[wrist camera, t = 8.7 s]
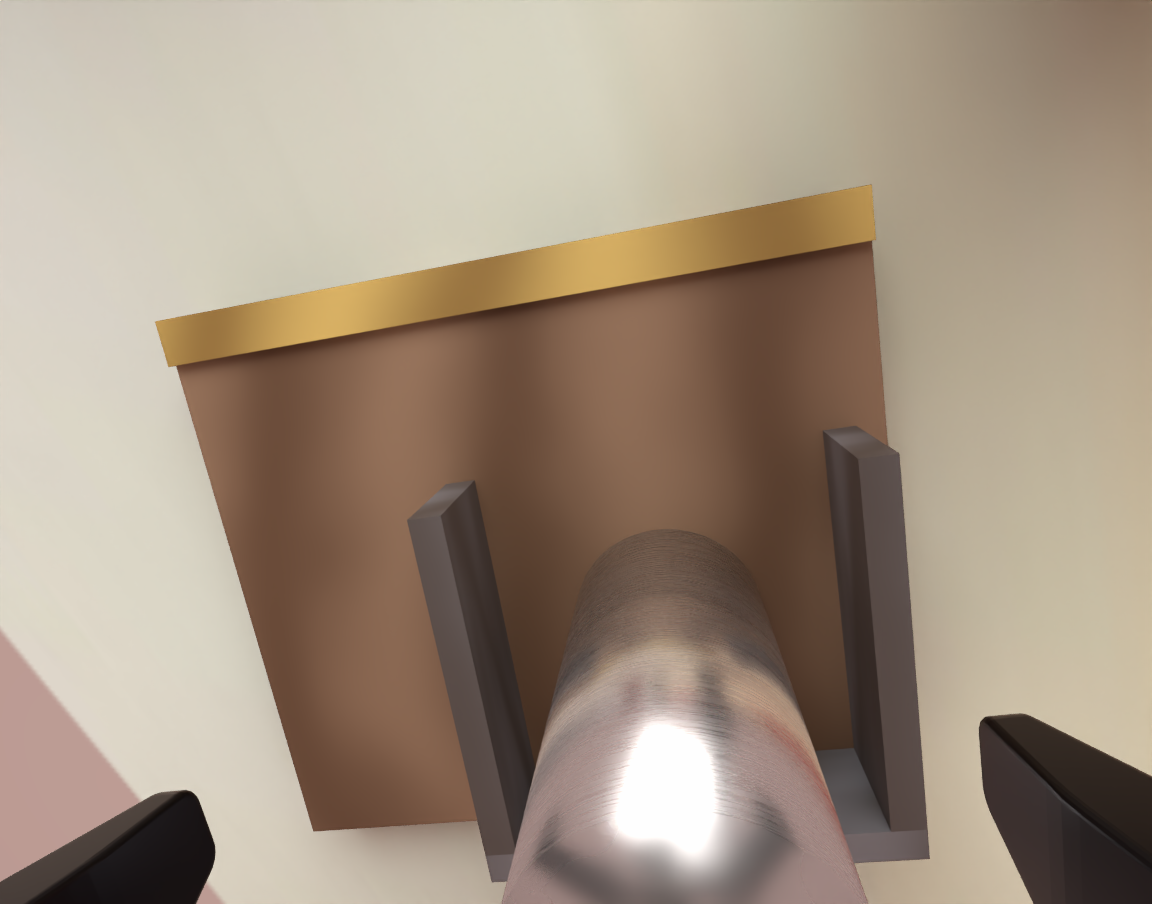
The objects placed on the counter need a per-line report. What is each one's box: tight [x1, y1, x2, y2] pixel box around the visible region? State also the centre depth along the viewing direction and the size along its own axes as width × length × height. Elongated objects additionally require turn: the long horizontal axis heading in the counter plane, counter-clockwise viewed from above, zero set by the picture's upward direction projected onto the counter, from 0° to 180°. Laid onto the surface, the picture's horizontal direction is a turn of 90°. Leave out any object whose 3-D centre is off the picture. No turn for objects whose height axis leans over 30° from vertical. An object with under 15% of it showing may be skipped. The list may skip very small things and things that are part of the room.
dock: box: [155, 184, 930, 882], centre depth 18 cm, size 18×16×5 cm
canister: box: [502, 529, 868, 904], centre depth 13 cm, size 5×5×10 cm
